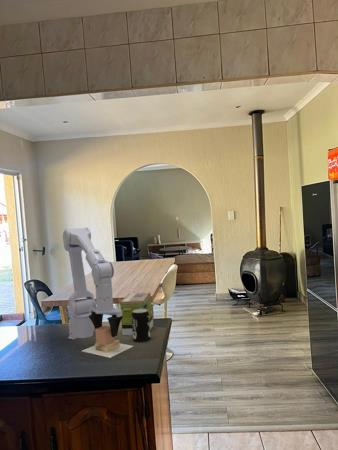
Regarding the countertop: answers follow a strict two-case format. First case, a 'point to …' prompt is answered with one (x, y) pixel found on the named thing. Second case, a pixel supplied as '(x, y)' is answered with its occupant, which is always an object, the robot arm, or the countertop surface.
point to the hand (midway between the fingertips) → (106, 334)
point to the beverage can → (140, 325)
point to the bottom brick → (107, 346)
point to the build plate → (109, 354)
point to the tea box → (131, 304)
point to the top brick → (104, 335)
